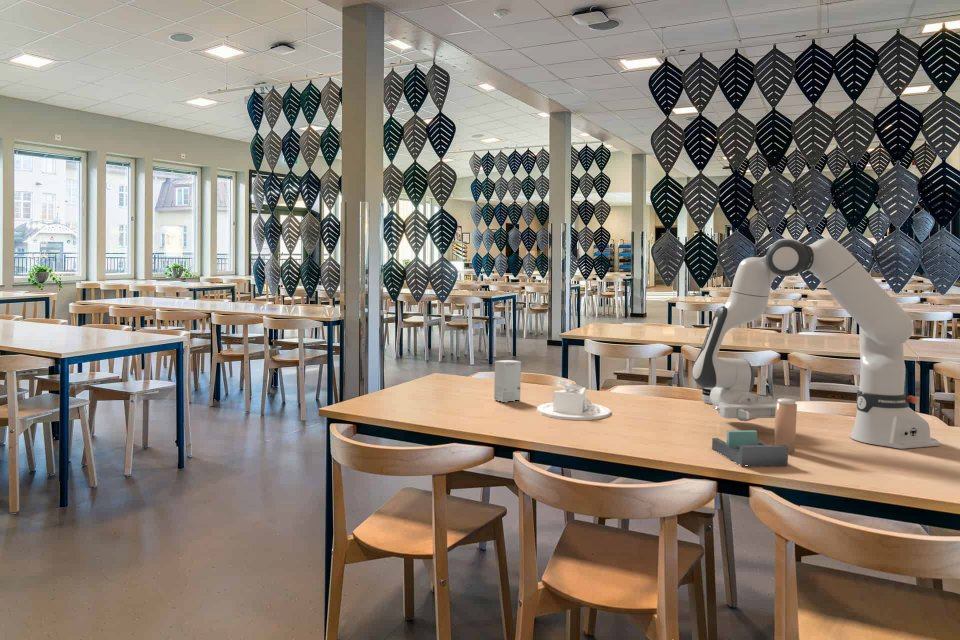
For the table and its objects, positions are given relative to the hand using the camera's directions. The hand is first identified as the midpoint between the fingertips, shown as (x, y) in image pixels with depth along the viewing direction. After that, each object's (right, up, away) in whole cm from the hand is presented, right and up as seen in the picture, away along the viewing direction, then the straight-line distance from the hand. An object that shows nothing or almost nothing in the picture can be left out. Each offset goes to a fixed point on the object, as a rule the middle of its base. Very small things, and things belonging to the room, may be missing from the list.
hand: (767, 416), depth 188 cm
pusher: (-12, -8, -13) cm, 19 cm away
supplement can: (+5, -3, +56) cm, 56 cm away
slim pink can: (+1, -8, -9) cm, 12 cm away
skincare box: (-72, -3, +55) cm, 91 cm away
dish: (-50, -5, +37) cm, 63 cm away
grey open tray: (-12, -8, -15) cm, 21 cm away
